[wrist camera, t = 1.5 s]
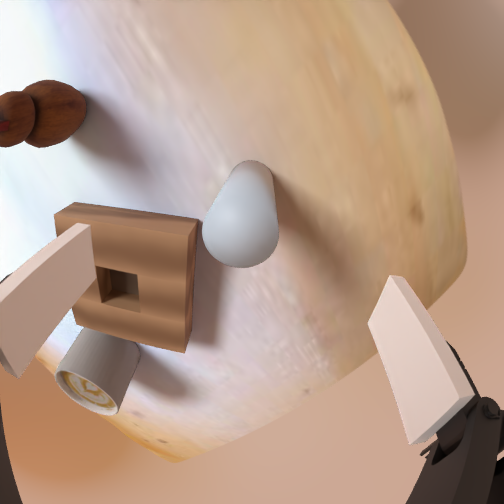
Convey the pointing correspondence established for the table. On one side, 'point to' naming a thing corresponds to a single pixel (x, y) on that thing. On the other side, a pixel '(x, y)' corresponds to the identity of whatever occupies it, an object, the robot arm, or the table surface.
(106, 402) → the coffee mug
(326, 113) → the table surface
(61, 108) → the wooden figurine
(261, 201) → the peg
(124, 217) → the bore block
